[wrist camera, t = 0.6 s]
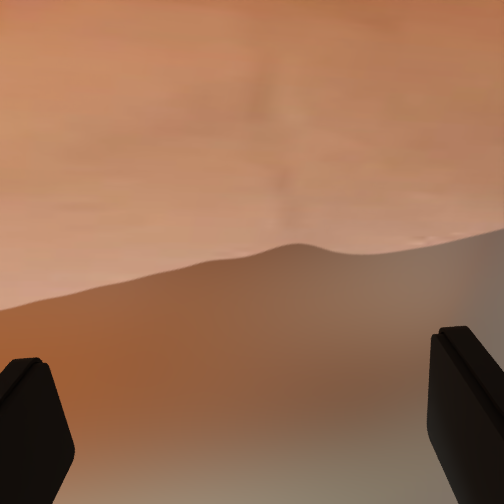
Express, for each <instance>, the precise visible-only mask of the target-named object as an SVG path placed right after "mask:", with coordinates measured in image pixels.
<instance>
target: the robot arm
mask: <svg viewBox="0 0 504 504" xmlns="http://www.w3.org/2000/svg"><path fill="white" fill-rule="evenodd" d="M427 431H428V435H429V439H430V441H431V444H432V446H433V448H434V450H435V452H436V455H437V457H438V459H439V461H440V463H441V466H442V468H443V470H444V472H445V475H446V477H447V479H448V481H449V484H450V486H451V488H452V490H453V492H454V495H455V497H456V499H457V501H458V503H459V504H504V372H503V371H502V369H501V368H500V367H499V365H498V364H497V363H496V362H495V361H494V359H493V358H492V357H491V355H490V354H489V353H488V352H487V350H486V349H485V348H484V346H482V344H481V343H480V341H479V340H478V339H477V338H476V336H475V335H474V334H473V333H472V331H471V330H470V329H469V328H468V327H467V326H455V327H443V328H440V330H439V334H433V335H432V337H431V350H430V369H429V389H428V410H427ZM74 453H75V447H74V443H73V440H72V437H71V433H70V430H69V428H68V424H67V421H66V418H65V415H64V411H63V408H62V405H61V402H60V399H59V396H58V393H57V389H56V386H55V383H54V380H53V377H52V374H51V371H50V368H49V365H48V364H47V363H43V362H42V360H40V358H37V357H36V358H23V359H14V360H12V361H11V362H10V363H9V364H8V365H7V366H6V367H5V369H4V370H3V371H2V372H1V373H0V504H52V503H53V501H54V499H55V497H56V495H57V493H58V491H59V489H60V487H61V485H62V483H63V480H64V478H65V476H66V474H67V472H68V470H69V468H70V466H71V464H72V462H73V459H74Z"/></svg>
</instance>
